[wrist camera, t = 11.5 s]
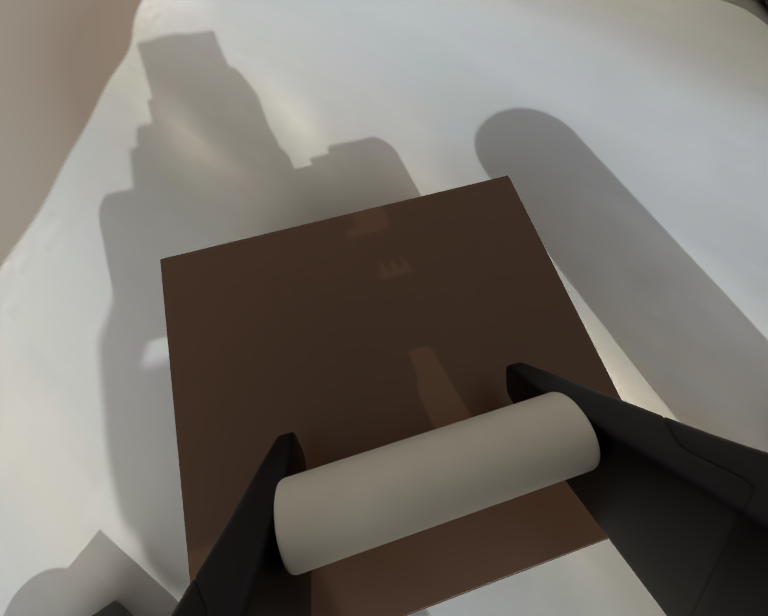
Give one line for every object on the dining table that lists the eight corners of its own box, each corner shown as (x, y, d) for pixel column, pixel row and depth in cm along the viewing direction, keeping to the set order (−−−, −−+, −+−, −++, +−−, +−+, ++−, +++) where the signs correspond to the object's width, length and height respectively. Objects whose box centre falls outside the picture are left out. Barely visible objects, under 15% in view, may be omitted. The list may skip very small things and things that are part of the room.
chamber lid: (660, 506, 10) (895, 577, 6) (213, 674, 9) (26, 961, 4) (502, 186, 14) (564, 68, 9) (171, 267, 12) (48, 175, 8)
